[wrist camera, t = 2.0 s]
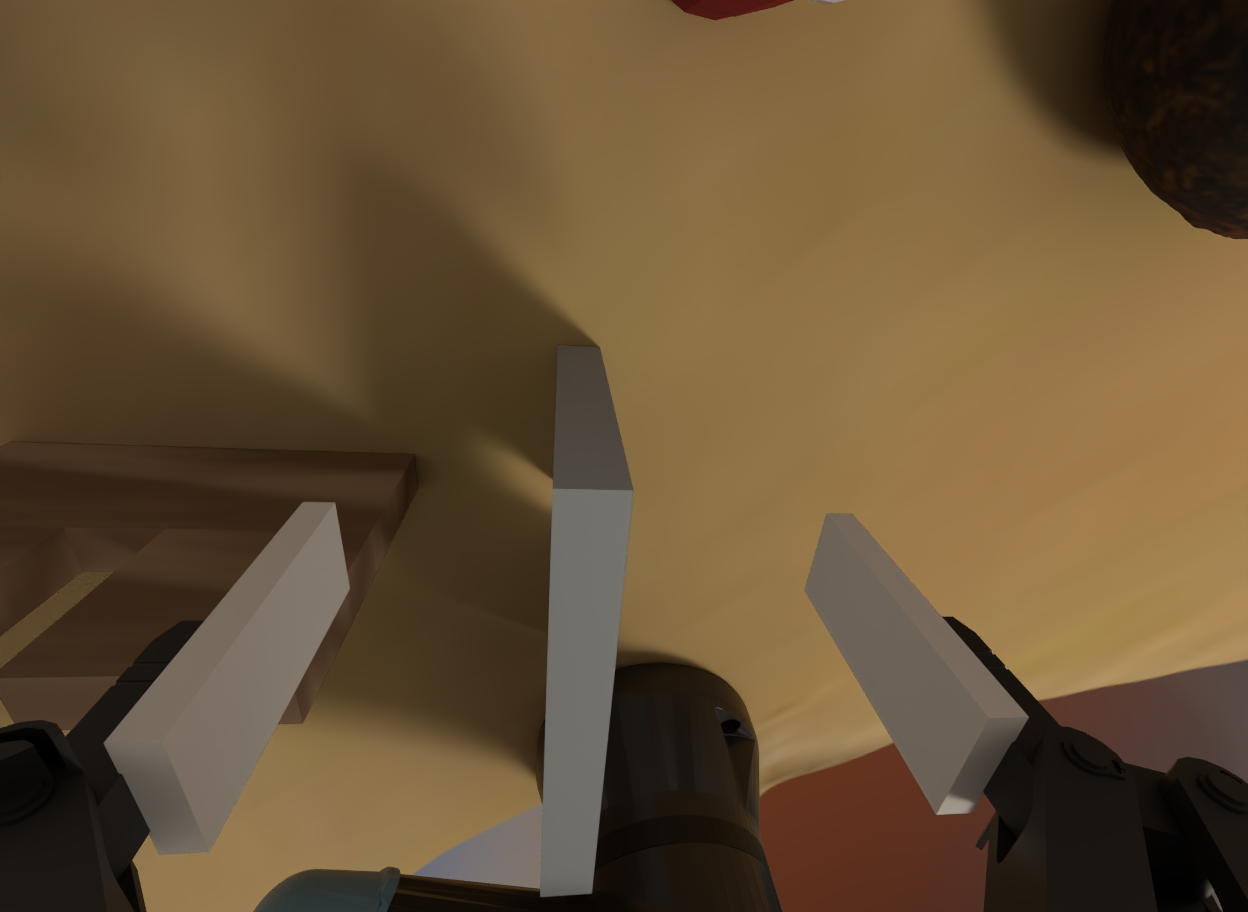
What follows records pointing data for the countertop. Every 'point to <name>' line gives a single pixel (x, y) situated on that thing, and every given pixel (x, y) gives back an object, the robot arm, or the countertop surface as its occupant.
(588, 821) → the notched grey panel
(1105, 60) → the dark brown vase
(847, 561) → the robot arm
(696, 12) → the plastic cup
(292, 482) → the walnut board
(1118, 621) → the countertop surface
